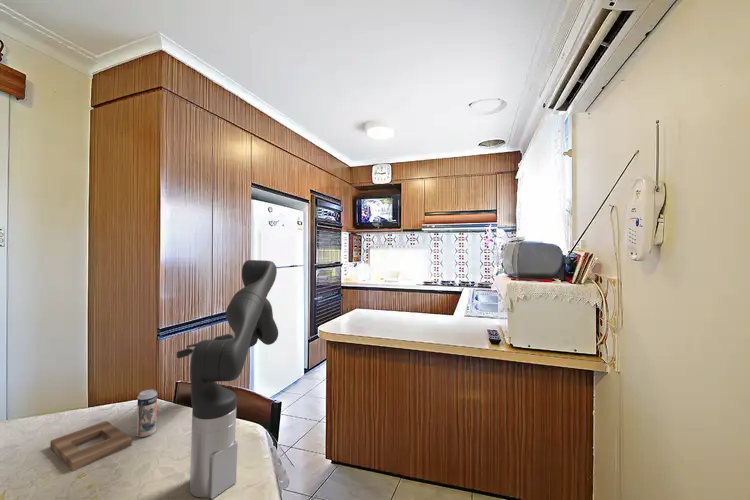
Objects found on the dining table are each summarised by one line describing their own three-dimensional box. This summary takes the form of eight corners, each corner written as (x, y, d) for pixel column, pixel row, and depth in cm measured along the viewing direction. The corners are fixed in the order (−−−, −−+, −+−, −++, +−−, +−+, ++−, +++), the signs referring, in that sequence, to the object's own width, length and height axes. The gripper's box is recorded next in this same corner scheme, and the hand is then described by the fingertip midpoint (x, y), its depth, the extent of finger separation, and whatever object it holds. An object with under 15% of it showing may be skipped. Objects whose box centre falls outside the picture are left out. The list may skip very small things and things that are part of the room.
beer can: (139, 440, 89) (140, 397, 89) (133, 433, 92) (134, 392, 92) (158, 432, 93) (160, 391, 93) (152, 426, 96) (154, 387, 96)
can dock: (130, 445, 87) (131, 438, 87) (72, 471, 76) (72, 462, 76) (106, 427, 95) (106, 420, 95) (50, 447, 85) (50, 440, 85)
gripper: (217, 330, 119) (172, 342, 105) (242, 337, 112) (198, 351, 98) (217, 350, 119) (172, 364, 105) (242, 358, 112) (197, 375, 98)
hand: (184, 358), depth 102 cm, fingers open, 8 cm apart
